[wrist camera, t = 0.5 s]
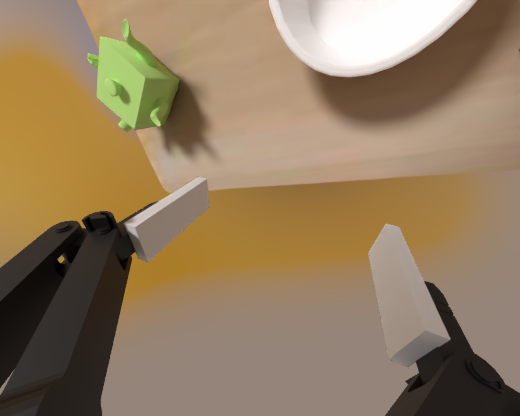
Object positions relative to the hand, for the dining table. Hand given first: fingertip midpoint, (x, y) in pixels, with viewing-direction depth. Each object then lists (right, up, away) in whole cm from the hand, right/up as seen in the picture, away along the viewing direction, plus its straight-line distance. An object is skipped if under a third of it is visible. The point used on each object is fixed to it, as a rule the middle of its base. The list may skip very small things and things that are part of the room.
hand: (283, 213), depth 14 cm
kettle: (-23, +26, +27) cm, 44 cm away
